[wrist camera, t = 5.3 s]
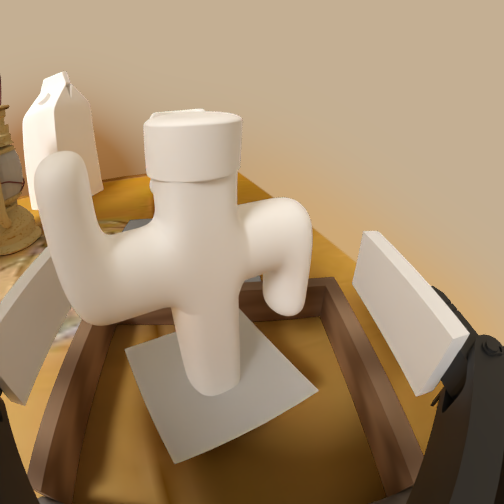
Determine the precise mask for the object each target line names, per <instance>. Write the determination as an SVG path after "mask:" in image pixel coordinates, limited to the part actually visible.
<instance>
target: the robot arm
mask: <svg viewBox="0 0 504 504" xmlns="http://www.w3.org/2000/svg"><path fill="white" fill-rule="evenodd" d="M352 285H353V286H354V288H355V289H356V291H357V293H358V294H359V296H360V298H361V299H362V301H363V302H364V304H365V306H366V307H367V309H368V311H369V312H370V314H371V316H372V318H373V319H374V321H375V323H376V324H377V326H378V328H379V330H380V331H381V333H382V335H383V337H384V338H385V340H386V342H387V344H388V345H389V347H390V349H391V351H392V353H393V354H394V356H395V358H396V360H397V362H398V363H399V365H400V367H401V369H402V371H403V373H404V375H405V377H406V378H407V380H408V382H409V384H410V386H411V388H412V390H413V392H414V394H415V396H416V397H417V396H420V395H422V394H425V393H428V392H431V391H433V390H434V388H435V387H436V386H437V384H438V383H439V381H440V380H441V381H442V383H443V385H444V387H443V389H442V390H441V391H440V393H439V394H438V395H437V396H436V398H435V399H434V400H433V402H432V404H431V406H434V405H435V404H436V402H437V401H438V400H439V402H438V406H437V411H436V415H435V419H434V423H433V427H432V431H431V434H430V438H429V442H428V445H427V448H426V451H425V455H424V458H423V461H422V464H421V467H420V469H419V472H418V475H417V478H416V480H415V483H414V486H413V488H412V491H411V493H410V495H409V498H408V500H407V502H406V504H504V346H502V345H501V344H500V342H499V341H498V340H496V339H495V338H493V337H491V336H489V335H478V334H477V333H476V331H475V330H474V329H473V328H472V327H471V325H470V324H469V323H468V321H467V320H466V319H465V318H464V317H463V316H462V314H461V313H460V312H459V311H457V308H456V307H455V306H454V305H453V304H451V301H450V300H449V299H448V298H447V297H446V295H445V294H444V293H443V292H441V291H440V290H438V289H437V288H435V287H434V286H430V285H429V284H428V283H427V282H426V281H425V279H424V278H423V277H422V276H421V275H420V274H419V273H418V272H417V271H416V269H415V268H414V267H413V266H412V265H411V264H410V263H409V262H408V261H407V260H406V259H405V258H404V257H403V256H402V255H401V254H400V253H399V252H398V251H397V249H396V248H395V247H394V246H393V245H392V244H391V243H390V242H389V241H388V240H387V239H386V238H385V237H384V236H383V235H382V234H381V233H380V232H378V231H363V235H362V240H361V245H360V250H359V255H358V259H357V264H356V269H355V273H354V277H353V282H352ZM71 307H72V306H71V304H70V302H69V301H68V299H67V297H66V295H65V292H64V290H63V288H62V285H61V283H60V280H59V278H58V275H57V272H56V269H55V266H54V263H53V260H52V257H51V254H50V251H49V248H48V246H47V247H46V248H45V249H44V250H43V252H42V253H41V254H40V255H39V256H38V257H37V258H36V259H35V260H34V262H33V263H32V264H31V265H30V266H29V267H28V268H27V270H26V271H25V272H24V273H23V274H22V276H21V277H20V278H19V279H18V280H17V282H16V283H15V284H14V285H13V287H12V288H11V289H10V290H9V292H8V293H7V294H6V295H5V297H4V298H3V299H2V301H1V302H0V396H1V394H2V391H3V392H4V394H5V395H6V396H7V397H8V398H9V399H10V401H12V402H15V403H18V404H21V405H24V406H25V405H26V402H27V400H28V397H29V395H30V392H31V390H32V387H33V385H34V382H35V380H36V378H37V375H38V373H39V371H40V369H41V366H42V364H43V362H44V360H45V358H46V356H47V353H48V351H49V349H50V347H51V345H52V343H53V341H54V339H55V337H56V335H57V333H58V331H59V329H60V327H61V325H62V323H63V322H64V320H65V318H66V316H67V314H68V312H69V310H70V309H71ZM0 504H40V503H39V501H38V499H37V497H36V495H35V493H34V490H33V488H32V486H31V484H30V481H29V479H28V476H27V474H26V471H25V469H24V466H23V464H22V461H21V458H20V455H19V453H18V450H17V447H16V443H15V440H14V437H13V434H12V430H11V427H10V423H9V419H8V415H7V411H6V407H5V404H4V401H3V400H2V399H1V397H0Z"/></svg>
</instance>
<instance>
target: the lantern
mask: <svg viewBox="0 0 504 504" xmlns="http://www.w3.org/2000/svg"><path fill="white" fill-rule="evenodd" d="M7 108H9V105H1V77H0V255H7V254H11V253H15V252H18V251H20V250H22V249H24V248H26V247H28V246H30V245H31V244H33V243H34V242H35V241H36V240H37V239H38V238H39V237H40V236H41V233H42V230H41V228H40V227H38V226H37V225H36V224H35V220H34V216H33V215H32V214H31V213H30V212H29V211H28V210H27V209H25V208H24V207H22V206H20V205H17V199H18V197H19V196H20V195H21V194H22V192H21V191H22V189H23V186H24V183H25V181H24V179H23V177H22V167H21V164H20V160H19V157H18V155H17V153H16V151H15V148H14V146H13V145H8V144H11V143H13V141H12V140H11V136H10V135H11V134H10V133H9V127H8V124H7V125H4V117H5V109H7ZM22 184H23V186H22Z"/></svg>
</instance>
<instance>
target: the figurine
mask: <svg viewBox="0 0 504 504" xmlns="http://www.w3.org/2000/svg"><path fill="white" fill-rule="evenodd" d="M242 123H243V120H242V118H241V117H240V116H238V115H236V114H232V113H225V112H209V111H208V112H206V111H205V110H204V109H191V110H179V111H167V112H157V113H153V114H152V115H151V117H150V119H149V120H147V121H146V122H145V123H144V126H143V127H144V147H145V163H146V173H147V176H149V177H150V178H151V181H150V190H151V192H152V193H153V195H154V204H155V213H154V216H153V219H152V220H151V222H150V223H148V224H147V225H145V226H142V227H139V228H136V229H132V230H128V231H124V232H120V233H117V234H113V235H108V234H105V233H104V232H103V231H102V230H101V228H100V226H99V224H98V221H97V218H96V214H95V210H94V206H93V201H92V195H91V189H90V183H89V177H88V172H87V169H86V166H85V163H84V161H83V159H82V158H81V156H80V155H78V154H77V153H75V152H72V151H60V152H56V153H53V154H51V155H49V156H47V157H46V158H44V159H43V160H42V161H41V162H40V163H39V165H38V167H37V169H36V171H35V176H34V189H35V196H36V202H37V206H38V210H39V215H40V219H41V223H42V226H43V230H44V234H45V237H46V241H47V244H48V248H49V251H50V254H51V257H52V260H53V263H54V266H55V269H56V272H57V275H58V278H59V280H60V283H61V285H62V288H63V290H64V292H65V295H66V297H67V299H68V301H69V302H70V304H71V306H72V307H73V309H74V310H75V312H76V313H77V314H78V315H79V317H80V318H81V319H83V320H84V321H85V322H87V323H89V324H92V325H96V326H104V325H110V324H114V323H118V322H121V321H124V320H127V319H130V318H133V317H137V316H140V315H143V314H146V313H149V312H152V311H155V310H158V309H162V308H167V307H171V310H172V315H173V320H174V324H175V329H176V332H173V333H170V334H167V335H165V336H162V337H159V338H156V339H153V340H150V341H147V342H144V343H141V344H138V345H135V346H132V347H129V348H126V349H125V352H126V355H127V358H128V361H129V364H130V366H131V369H132V372H133V374H134V377H135V380H136V382H137V385H138V387H139V390H140V392H141V395H142V397H143V399H144V402H145V404H146V406H147V409H148V411H149V413H150V415H151V418H152V420H153V422H154V424H155V426H156V428H157V431H158V433H159V435H160V437H161V439H162V441H163V443H164V445H165V447H166V449H167V451H168V453H169V454H170V456H171V458H172V460H173V462H174V464H177V463H180V462H182V461H185V460H187V459H190V458H192V457H195V456H197V455H200V454H202V453H204V452H207V451H209V450H211V449H213V448H216V447H218V446H220V445H222V444H224V443H227V442H229V441H231V440H233V439H235V438H237V437H239V436H241V435H243V434H245V433H247V432H249V431H251V430H253V429H255V428H257V427H259V426H260V425H262V424H264V423H266V422H268V421H270V420H271V419H273V418H275V417H277V416H279V415H280V414H282V413H284V412H285V411H287V410H289V409H291V408H292V407H294V406H296V405H297V404H299V403H300V402H302V401H304V400H305V399H307V398H309V397H310V396H312V395H313V394H315V393H316V392H318V391H319V390H318V389H317V388H316V387H315V386H314V385H313V384H312V383H311V382H310V381H309V380H308V379H307V378H306V377H305V376H304V375H303V374H302V373H301V372H300V371H299V370H298V369H297V368H296V367H295V366H294V365H293V364H292V363H291V362H290V361H289V360H288V359H287V358H286V357H285V356H284V355H283V354H282V353H281V352H280V351H279V350H278V349H277V348H276V347H275V346H274V345H273V344H272V343H271V342H270V341H269V340H268V339H267V337H266V336H265V335H264V334H263V333H262V332H261V331H260V330H259V329H258V328H257V327H256V326H255V325H254V324H253V323H252V322H251V321H250V320H249V319H248V317H247V316H246V315H245V314H244V313H243V312H242V311H241V310H240V309H239V297H238V296H239V293H240V290H241V287H242V285H243V283H244V281H245V280H247V279H250V278H253V277H256V276H259V275H262V274H263V296H264V299H265V301H266V303H267V304H268V306H269V307H270V308H271V309H272V310H273V311H275V312H276V313H278V314H280V315H284V316H294V315H296V314H298V313H299V312H300V311H301V310H302V309H303V306H304V304H305V299H306V292H307V285H308V278H309V271H310V263H311V255H312V240H313V236H312V224H311V220H310V217H309V214H308V212H307V211H306V209H305V208H304V207H303V206H302V205H301V204H300V203H299V202H297V201H296V200H294V199H291V198H285V197H279V198H271V199H265V200H260V201H255V202H250V203H245V204H240V205H237V175H238V170H239V168H240V161H241V160H240V159H241V141H242Z"/></svg>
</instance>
